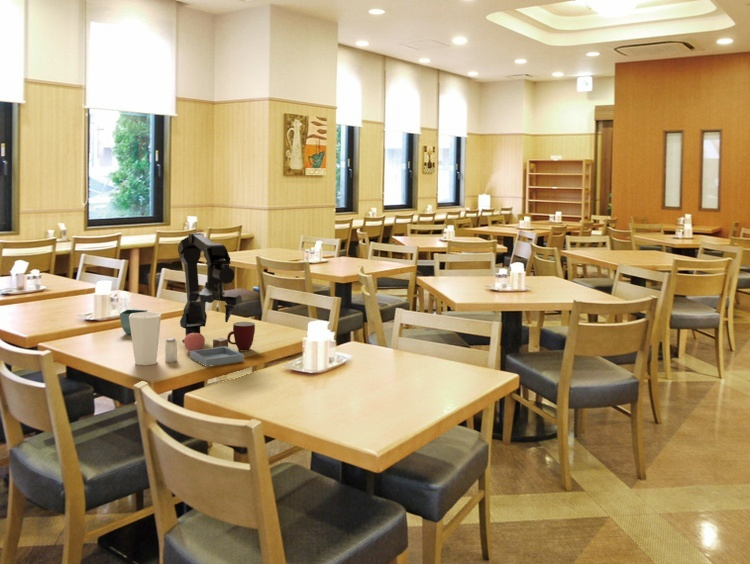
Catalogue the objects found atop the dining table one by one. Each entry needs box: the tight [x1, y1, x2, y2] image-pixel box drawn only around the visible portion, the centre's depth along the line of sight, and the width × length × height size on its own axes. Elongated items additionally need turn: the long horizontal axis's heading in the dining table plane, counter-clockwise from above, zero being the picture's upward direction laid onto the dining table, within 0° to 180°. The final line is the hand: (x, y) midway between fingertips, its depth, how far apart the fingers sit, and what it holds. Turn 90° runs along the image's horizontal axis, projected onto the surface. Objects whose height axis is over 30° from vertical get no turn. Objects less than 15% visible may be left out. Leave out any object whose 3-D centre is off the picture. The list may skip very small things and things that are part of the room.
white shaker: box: [164, 337, 178, 363], centre depth 254 cm, size 4×4×8 cm
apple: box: [183, 331, 206, 352], centre depth 267 cm, size 7×7×8 cm
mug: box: [226, 321, 256, 352], centre depth 272 cm, size 11×8×10 cm
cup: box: [129, 311, 162, 366], centre depth 249 cm, size 11×10×17 cm
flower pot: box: [119, 309, 149, 335], centre depth 293 cm, size 9×9×9 cm
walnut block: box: [212, 337, 229, 348], centre depth 272 cm, size 4×4×4 cm
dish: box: [189, 346, 244, 367], centre depth 257 cm, size 14×14×3 cm
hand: (214, 320), depth 263 cm, fingers open, 9 cm apart
